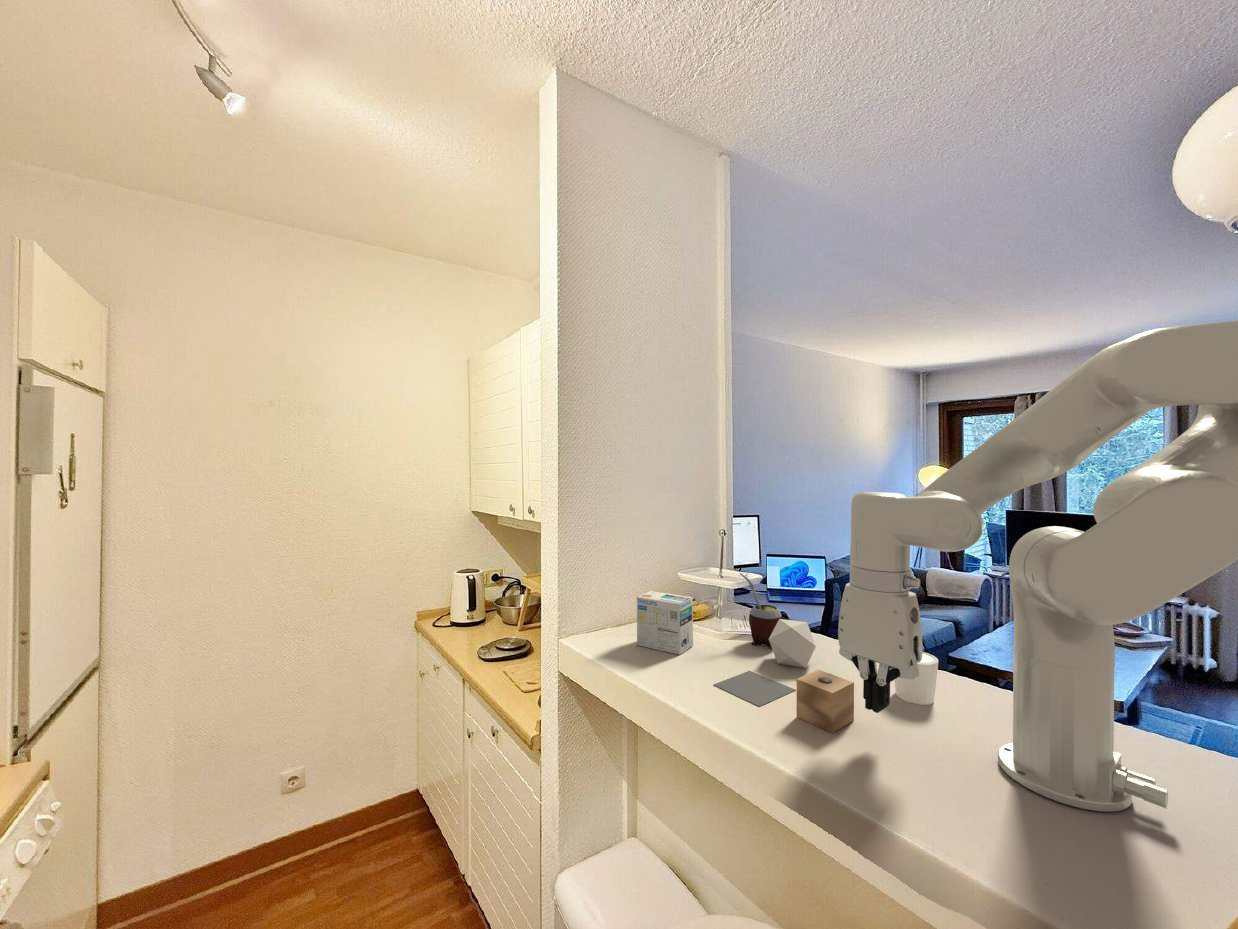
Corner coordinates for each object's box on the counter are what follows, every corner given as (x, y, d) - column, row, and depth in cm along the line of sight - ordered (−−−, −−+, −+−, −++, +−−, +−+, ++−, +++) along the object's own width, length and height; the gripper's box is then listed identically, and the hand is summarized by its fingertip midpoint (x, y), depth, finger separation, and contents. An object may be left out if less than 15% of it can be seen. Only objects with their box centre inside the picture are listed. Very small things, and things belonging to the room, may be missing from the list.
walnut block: (853, 721, 78) (854, 681, 78) (832, 734, 74) (832, 692, 74) (818, 706, 83) (818, 669, 83) (796, 717, 79) (796, 678, 79)
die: (819, 662, 102) (793, 615, 107) (832, 655, 94) (803, 605, 99) (781, 679, 101) (757, 631, 106) (791, 674, 94) (764, 622, 98)
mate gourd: (788, 648, 108) (789, 578, 108) (755, 651, 106) (755, 580, 106) (770, 636, 115) (770, 570, 115) (738, 639, 113) (738, 572, 113)
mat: (795, 690, 88) (795, 689, 88) (759, 707, 82) (759, 706, 82) (749, 671, 96) (749, 670, 96) (713, 685, 90) (713, 684, 90)
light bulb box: (694, 646, 110) (694, 596, 109) (680, 656, 104) (680, 603, 104) (650, 636, 115) (650, 589, 115) (635, 646, 109) (635, 596, 109)
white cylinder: (943, 709, 82) (943, 666, 81) (895, 703, 84) (895, 660, 84) (932, 691, 88) (932, 651, 88) (888, 685, 90) (888, 646, 90)
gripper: (948, 586, 68) (945, 722, 68) (842, 566, 80) (840, 682, 80) (924, 595, 64) (921, 740, 64) (815, 572, 75) (813, 695, 76)
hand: (876, 707), depth 72 cm, fingers closed
